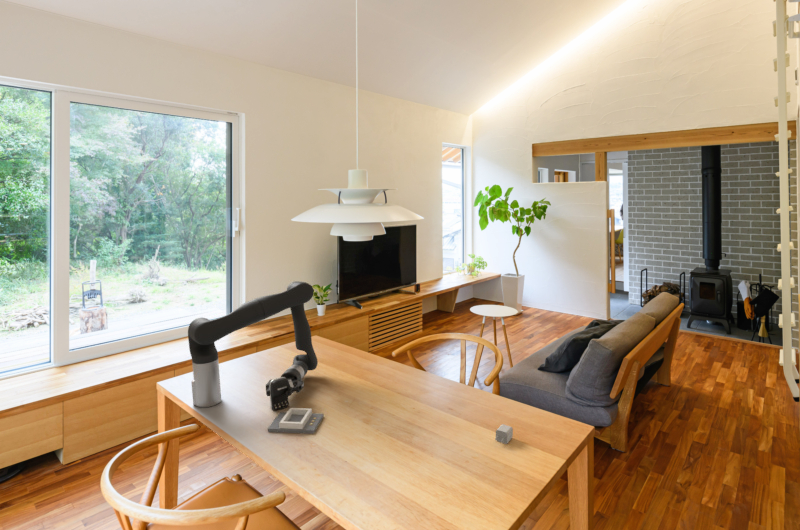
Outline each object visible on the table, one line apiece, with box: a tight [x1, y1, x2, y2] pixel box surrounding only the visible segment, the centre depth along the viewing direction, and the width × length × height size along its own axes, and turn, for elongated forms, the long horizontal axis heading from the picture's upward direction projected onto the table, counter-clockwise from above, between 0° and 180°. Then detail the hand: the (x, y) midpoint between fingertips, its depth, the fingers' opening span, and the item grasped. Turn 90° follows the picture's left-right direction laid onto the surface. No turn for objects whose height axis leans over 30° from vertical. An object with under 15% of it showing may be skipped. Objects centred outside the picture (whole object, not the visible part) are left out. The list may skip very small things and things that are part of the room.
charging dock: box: [267, 407, 324, 435], centre depth 157 cm, size 16×12×3 cm
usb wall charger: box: [494, 424, 514, 445], centre depth 144 cm, size 4×7×4 cm, turn 145°
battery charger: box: [269, 376, 290, 411], centre depth 169 cm, size 7×4×11 cm, turn 131°
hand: (277, 394), depth 166 cm, fingers closed on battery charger, 7 cm apart
